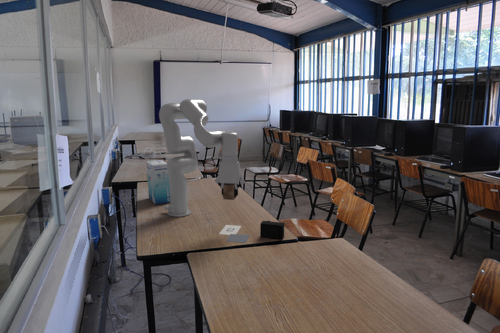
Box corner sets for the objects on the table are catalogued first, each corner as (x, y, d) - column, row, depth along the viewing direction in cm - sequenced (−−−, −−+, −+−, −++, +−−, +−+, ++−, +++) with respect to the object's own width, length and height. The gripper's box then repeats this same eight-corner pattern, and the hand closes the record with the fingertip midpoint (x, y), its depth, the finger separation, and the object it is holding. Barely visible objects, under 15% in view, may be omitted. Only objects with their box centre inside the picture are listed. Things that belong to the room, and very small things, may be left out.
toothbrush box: (148, 198, 239) (146, 160, 234) (164, 196, 243) (162, 159, 239) (154, 205, 223) (152, 165, 219) (171, 203, 228) (170, 163, 223)
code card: (218, 234, 176) (218, 233, 176) (225, 225, 189) (225, 224, 189) (235, 235, 175) (235, 235, 175) (241, 226, 187) (241, 225, 187)
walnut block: (223, 199, 177) (223, 184, 176) (226, 196, 182) (226, 182, 180) (233, 200, 176) (233, 185, 175) (236, 197, 181) (236, 183, 179)
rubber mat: (225, 241, 167) (225, 241, 167) (230, 234, 176) (230, 233, 176) (245, 243, 166) (245, 242, 166) (249, 235, 174) (249, 235, 174)
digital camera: (285, 236, 174) (285, 221, 173) (282, 240, 169) (282, 225, 168) (263, 233, 177) (263, 219, 176) (260, 237, 172) (260, 223, 171)
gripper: (209, 159, 173) (210, 197, 177) (246, 161, 170) (245, 199, 173) (214, 156, 180) (214, 193, 184) (249, 158, 177) (248, 195, 181)
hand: (229, 196), depth 179 cm, fingers closed on walnut block, 5 cm apart
